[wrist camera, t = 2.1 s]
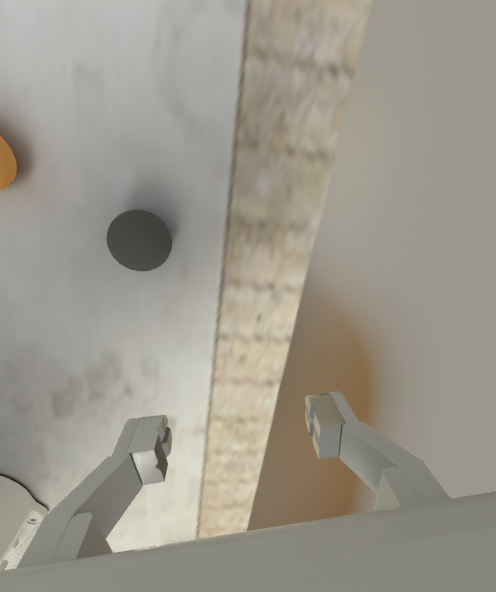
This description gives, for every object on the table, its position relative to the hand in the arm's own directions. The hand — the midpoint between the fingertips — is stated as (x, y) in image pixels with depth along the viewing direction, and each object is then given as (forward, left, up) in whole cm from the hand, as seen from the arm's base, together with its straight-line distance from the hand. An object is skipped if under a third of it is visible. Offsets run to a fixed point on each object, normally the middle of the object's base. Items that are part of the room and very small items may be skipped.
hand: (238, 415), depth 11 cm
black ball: (0, +10, -16) cm, 19 cm away
